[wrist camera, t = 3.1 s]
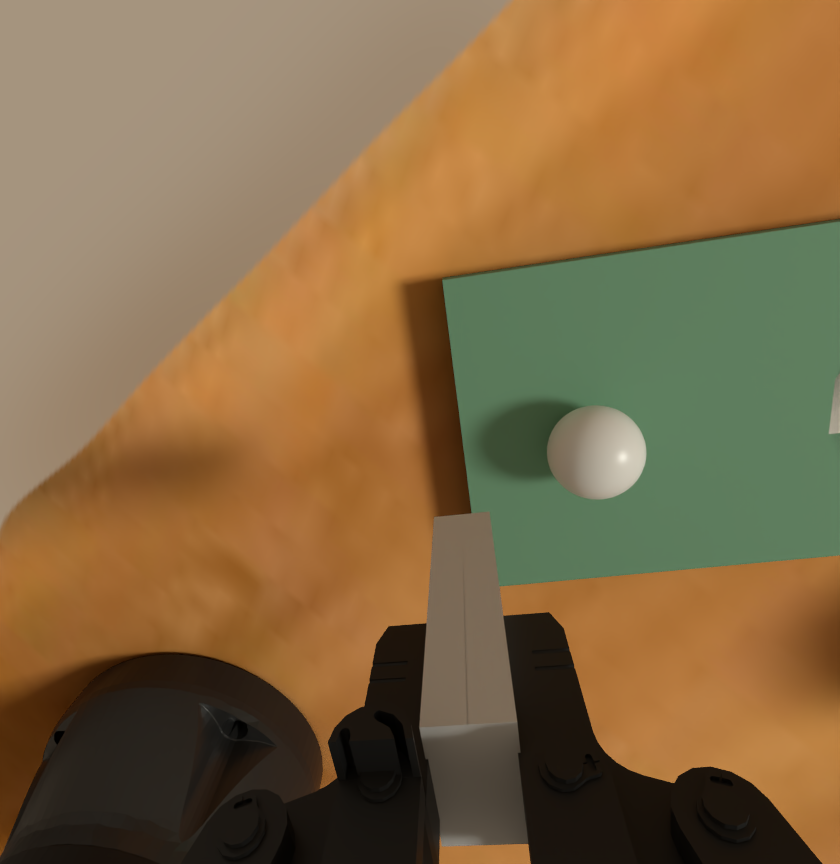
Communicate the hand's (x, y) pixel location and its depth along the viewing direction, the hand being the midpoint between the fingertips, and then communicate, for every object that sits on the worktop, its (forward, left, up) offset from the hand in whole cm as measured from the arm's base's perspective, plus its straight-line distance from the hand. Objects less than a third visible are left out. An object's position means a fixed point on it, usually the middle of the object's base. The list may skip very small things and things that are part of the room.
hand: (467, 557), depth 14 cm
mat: (+12, 0, -10) cm, 16 cm away
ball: (+5, 0, -6) cm, 8 cm away
